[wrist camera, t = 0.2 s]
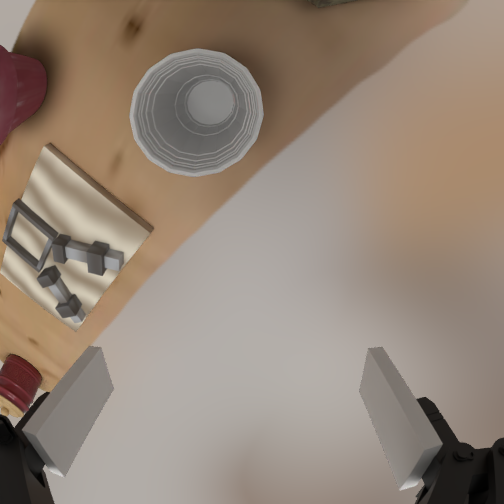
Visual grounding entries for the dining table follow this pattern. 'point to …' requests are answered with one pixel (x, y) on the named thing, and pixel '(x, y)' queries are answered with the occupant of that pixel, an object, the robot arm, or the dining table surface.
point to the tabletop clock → (328, 2)
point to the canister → (17, 386)
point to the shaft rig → (68, 239)
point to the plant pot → (19, 89)
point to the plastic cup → (196, 112)
